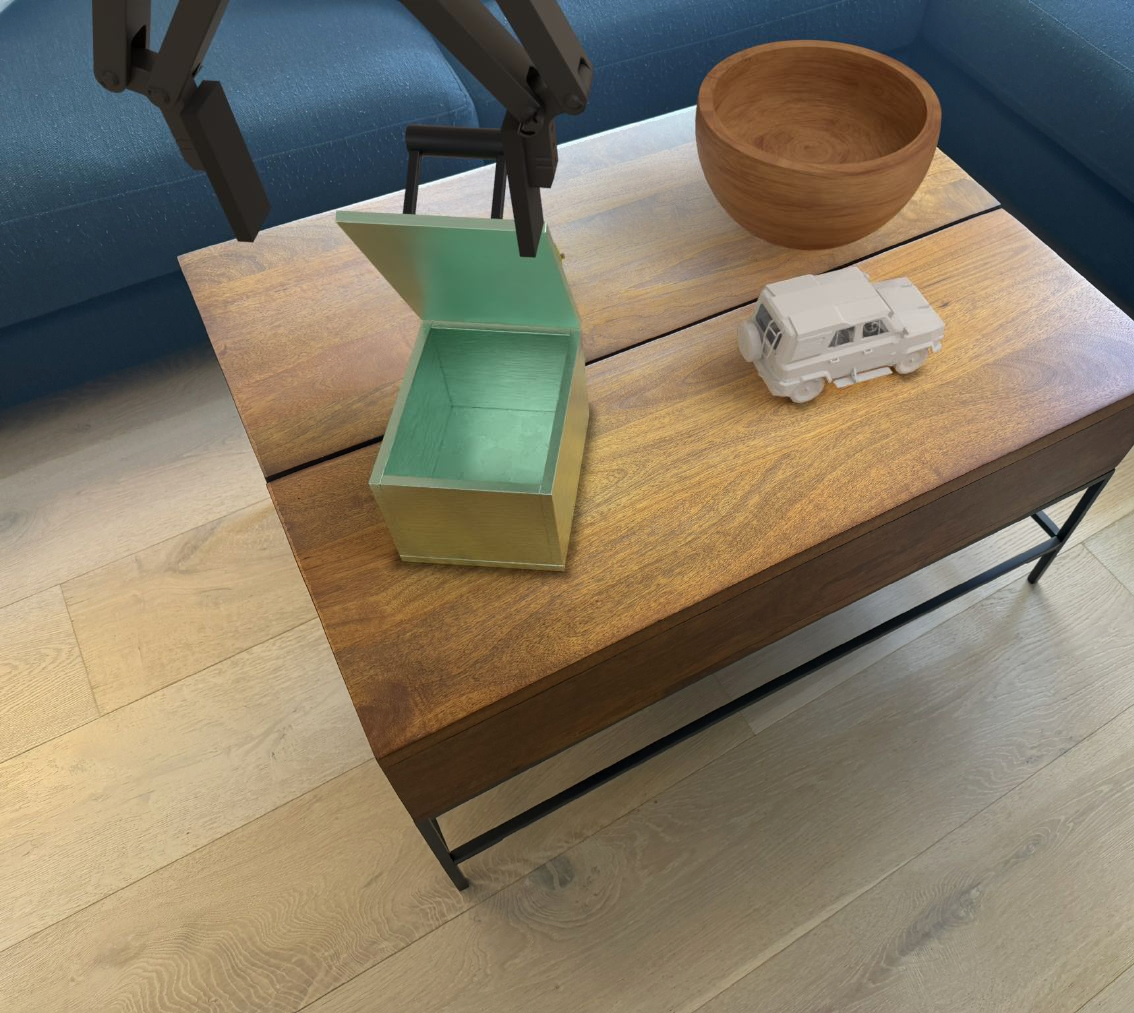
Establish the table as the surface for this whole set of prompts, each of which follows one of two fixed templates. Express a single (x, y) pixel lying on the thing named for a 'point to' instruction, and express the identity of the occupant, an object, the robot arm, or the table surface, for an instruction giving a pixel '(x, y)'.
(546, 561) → the freezer
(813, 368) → the toy car
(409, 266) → the freezer lid
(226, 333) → the table surface
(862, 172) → the bowl
